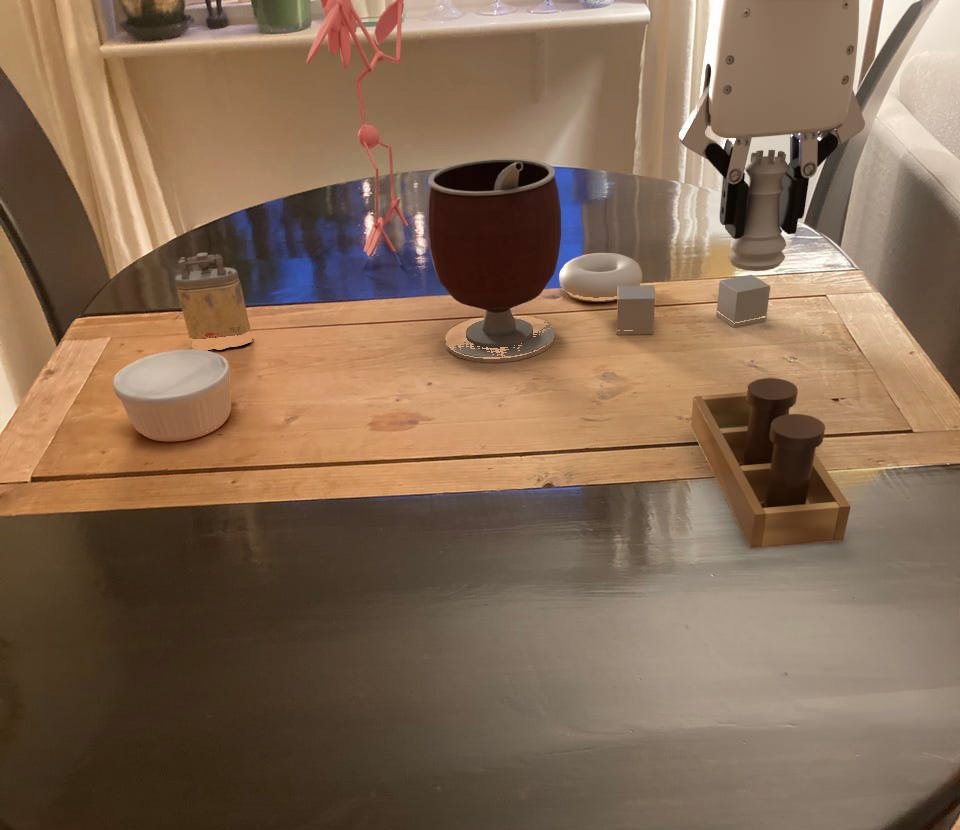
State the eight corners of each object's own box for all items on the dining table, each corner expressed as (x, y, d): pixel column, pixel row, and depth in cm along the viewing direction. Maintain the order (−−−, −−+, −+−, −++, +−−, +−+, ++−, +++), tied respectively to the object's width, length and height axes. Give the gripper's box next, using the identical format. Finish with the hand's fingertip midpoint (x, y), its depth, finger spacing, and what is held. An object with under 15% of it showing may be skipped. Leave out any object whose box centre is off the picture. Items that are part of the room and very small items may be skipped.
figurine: (435, 224, 141) (409, -71, 118) (394, 287, 121) (354, -51, 99) (335, 225, 143) (292, -63, 121) (280, 288, 124) (215, -42, 101)
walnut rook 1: (776, 464, 81) (790, 375, 76) (791, 488, 78) (806, 397, 73) (729, 468, 81) (740, 379, 76) (742, 492, 78) (754, 401, 73)
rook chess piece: (771, 250, 78) (784, 144, 73) (793, 268, 75) (809, 157, 70) (718, 257, 78) (729, 150, 73) (739, 275, 75) (751, 164, 69)
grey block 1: (652, 320, 108) (654, 284, 105) (653, 334, 105) (655, 298, 102) (616, 321, 109) (617, 285, 106) (616, 334, 105) (617, 299, 103)
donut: (639, 307, 111) (643, 275, 119) (640, 278, 109) (645, 247, 117) (554, 307, 113) (563, 276, 121) (554, 278, 111) (563, 248, 118)
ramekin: (233, 443, 91) (220, 391, 88) (116, 453, 91) (99, 402, 88) (247, 392, 100) (235, 343, 97) (140, 401, 100) (125, 353, 97)
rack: (766, 426, 87) (772, 389, 85) (842, 546, 72) (851, 505, 70) (689, 432, 87) (693, 396, 85) (749, 554, 72) (754, 514, 70)
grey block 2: (747, 309, 109) (751, 274, 106) (765, 321, 106) (770, 285, 103) (715, 315, 108) (719, 280, 105) (733, 328, 105) (737, 292, 102)
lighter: (254, 335, 112) (235, 247, 106) (253, 348, 109) (233, 258, 103) (193, 342, 112) (170, 255, 105) (190, 355, 109) (166, 266, 102)
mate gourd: (423, 329, 110) (403, 138, 97) (536, 308, 113) (531, 120, 100) (463, 381, 99) (446, 173, 86) (587, 356, 101) (589, 151, 89)
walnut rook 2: (799, 502, 76) (816, 411, 71) (816, 530, 73) (834, 436, 68) (750, 507, 76) (762, 415, 71) (764, 534, 73) (778, 441, 68)
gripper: (895, -71, 66) (847, 208, 78) (658, -51, 66) (645, 225, 78) (941, -64, 60) (882, 237, 72) (681, -42, 60) (664, 255, 72)
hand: (759, 228), depth 75 cm, fingers closed on rook chess piece, 3 cm apart
